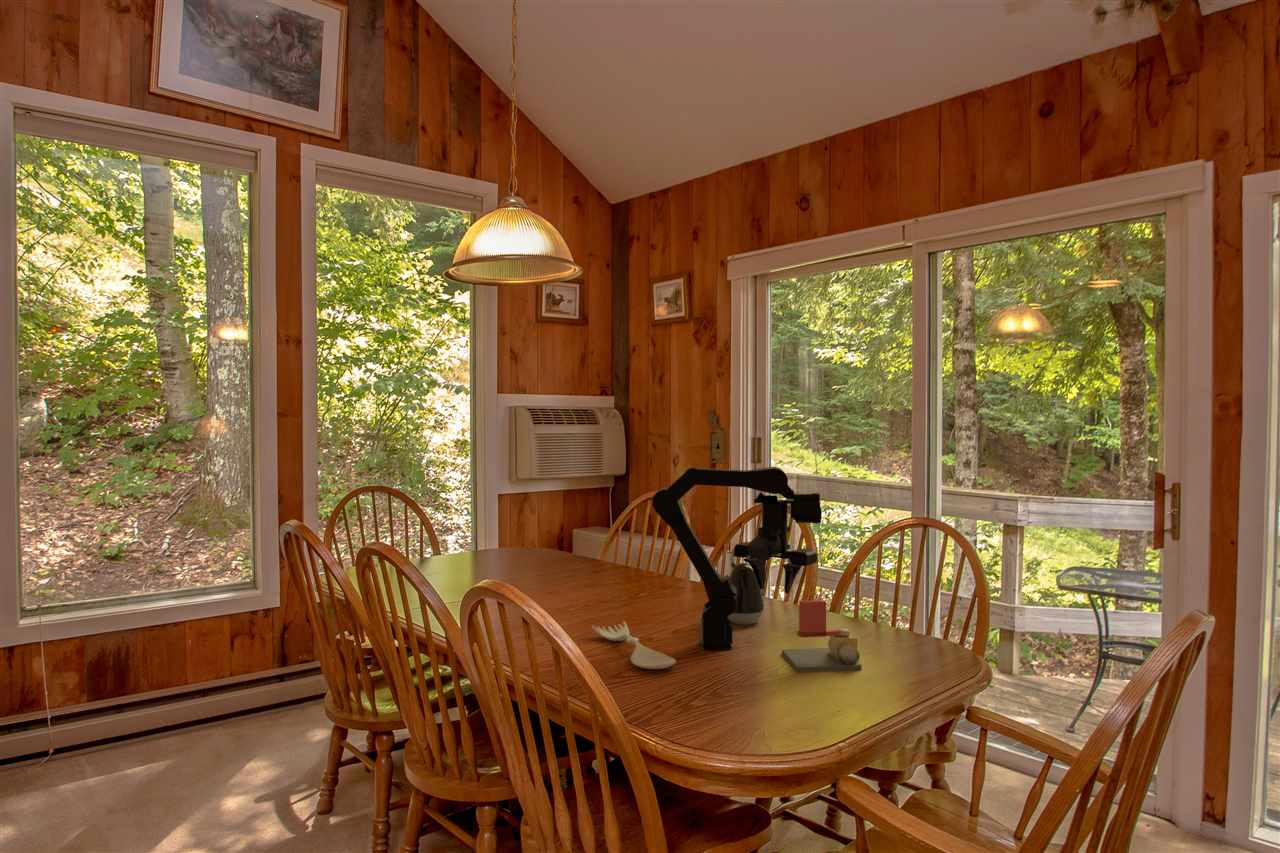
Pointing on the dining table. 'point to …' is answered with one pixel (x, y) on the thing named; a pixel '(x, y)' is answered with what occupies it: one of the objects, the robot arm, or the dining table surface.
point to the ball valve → (844, 649)
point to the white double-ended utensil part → (637, 648)
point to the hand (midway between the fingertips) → (774, 591)
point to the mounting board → (815, 660)
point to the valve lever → (815, 620)
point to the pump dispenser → (746, 595)
